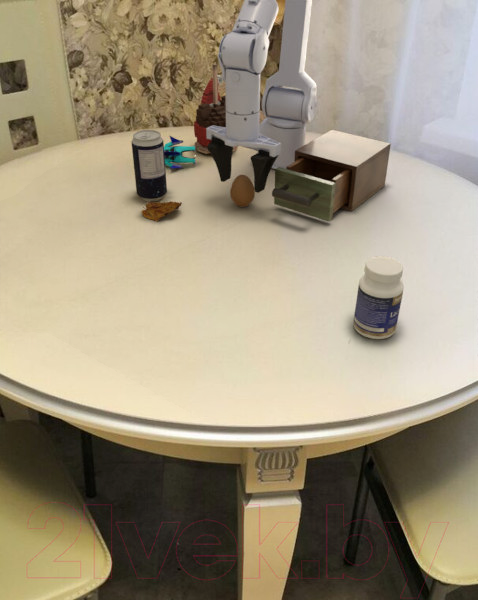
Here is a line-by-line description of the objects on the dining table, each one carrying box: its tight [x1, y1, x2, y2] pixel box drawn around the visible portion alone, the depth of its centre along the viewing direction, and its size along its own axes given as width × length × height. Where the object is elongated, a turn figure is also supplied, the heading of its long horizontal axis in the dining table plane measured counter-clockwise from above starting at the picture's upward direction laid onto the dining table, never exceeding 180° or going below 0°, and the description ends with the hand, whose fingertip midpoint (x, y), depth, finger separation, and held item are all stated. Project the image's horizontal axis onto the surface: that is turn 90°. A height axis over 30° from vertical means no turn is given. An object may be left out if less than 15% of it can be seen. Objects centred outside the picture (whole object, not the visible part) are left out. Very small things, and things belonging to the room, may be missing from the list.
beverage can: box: [130, 129, 168, 202], centre depth 113 cm, size 6×6×12 cm
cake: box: [193, 63, 239, 155], centre depth 131 cm, size 11×9×18 cm
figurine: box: [164, 135, 197, 170], centre depth 127 cm, size 7×6×12 cm
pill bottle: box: [352, 255, 405, 340], centre depth 80 cm, size 6×6×10 cm
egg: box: [229, 174, 256, 208], centre depth 112 cm, size 4×4×6 cm
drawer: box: [271, 157, 352, 222], centre depth 110 cm, size 17×11×7 cm
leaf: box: [141, 201, 183, 222], centre depth 111 cm, size 6×7×2 cm
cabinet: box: [294, 129, 392, 212], centre depth 116 cm, size 14×13×9 cm
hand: (242, 185), depth 111 cm, fingers open, 7 cm apart
